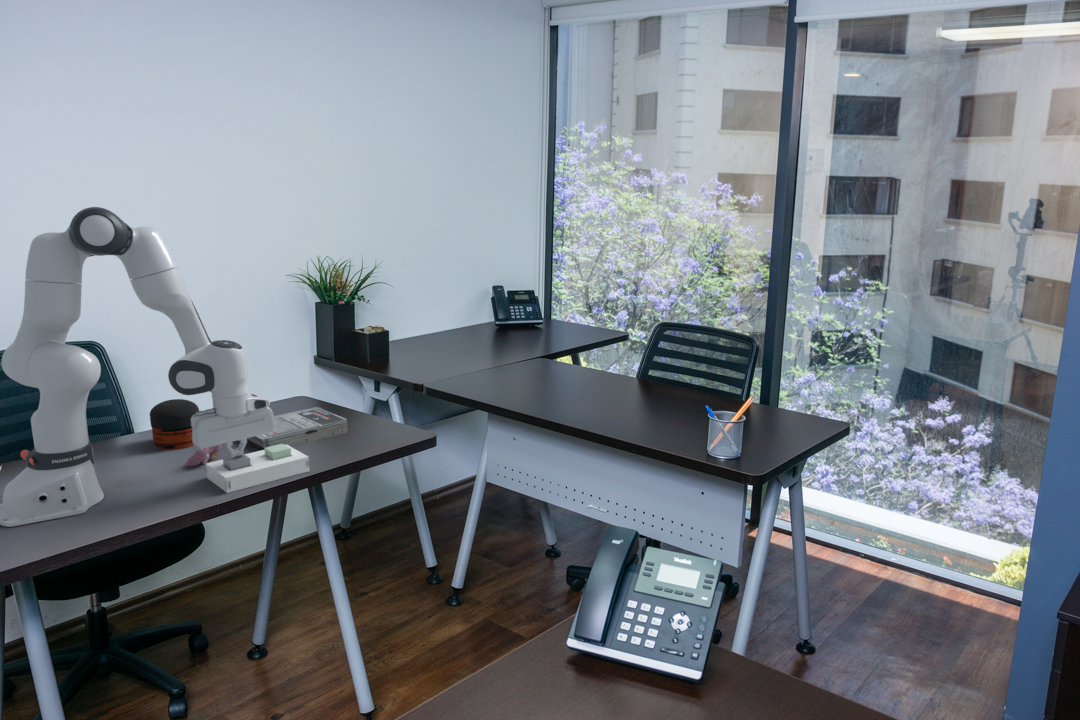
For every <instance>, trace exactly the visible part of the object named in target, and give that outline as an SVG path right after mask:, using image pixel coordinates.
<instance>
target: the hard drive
mask: <svg viewBox="0 0 1080 720" xmlns="http://www.w3.org/2000/svg"><path fill="white" fill-rule="evenodd" d="M274 421H275V429H274V431H273V432H271V433H267V434H263V435H259V436H254V437H250V438H247V443H246V445H249V446H250V447H252V448H254V449H256V450H257V451H261V450H264V448H266V447H270V446H274V445H279V444H284V445H289V446H290V447H292V448H293V447H295V446H296V447H297V446H299V445H303V444H307V443H312V442H315V441H318V440H319V441H320V440H323V439H327V438H331V437H336V436H340V435H342V434H346V433H348V432H349V431H348V418H345V417H343V416H341V415H338V414H336V413H333V412H331V411H329V410H327V409H324V408H323V407H320V406H319V407H318V406H317V407H316V406H314V407H309V408H306V409H302V410H297V411H292V412H288V413H283V414H278V415H274Z"/></svg>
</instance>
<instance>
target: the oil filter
mask: <svg viewBox="0 0 1080 720" xmlns="http://www.w3.org/2000/svg"><path fill="white" fill-rule="evenodd" d="M198 411H200V408H199V406H198V405H197V404H196V403H195V402H194V401H191V400H188V399H183V398H177V399H167V400H165V401H161V402H159V403H157V404H156V405H154V406H153V407H152V408H151V409H150V411H149V420H150V427H151V432H152V439H153V446H154V448H155V449H157V450H164V451H168V450H169V451H173V450H174V451H175V450H182V449H183V450H184V449H187V448H191V447H193V446H195V445H194V444H193V441H192V429H193V428H192V427H191V417H192V416H193V415H194V414H196V412H198ZM195 416H196V415H195Z"/></svg>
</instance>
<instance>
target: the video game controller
mask: <svg viewBox="0 0 1080 720" xmlns="http://www.w3.org/2000/svg"><path fill="white" fill-rule="evenodd" d="M223 447H224V444H220V445H216V446H212V447H208V448H203V449H199V448H197V449H196V451H195V453H194V454H193V455H191V456H190V457H189V458H188V459H187V461H186V465H187V466H188V467H196V466H198V465H199V464H200V463H201V464H203V465H206V463H209V460H210V461H213V460H214V459H215V458H216V456H217V455H218V453H220V451H221V450H222V448H223Z"/></svg>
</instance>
